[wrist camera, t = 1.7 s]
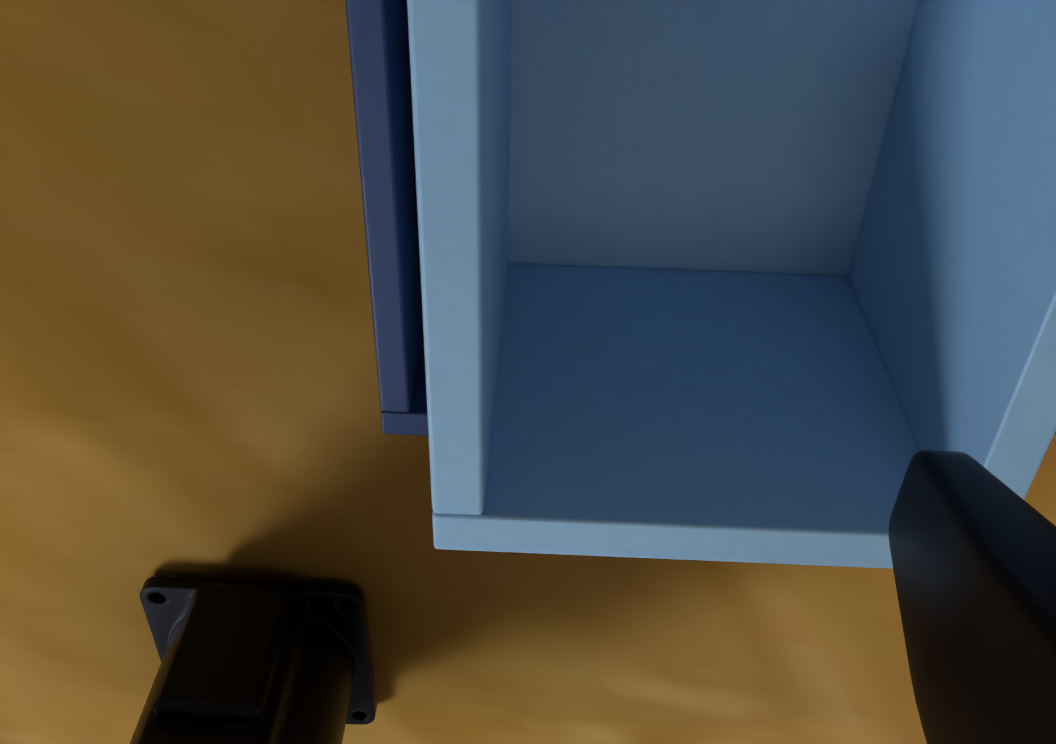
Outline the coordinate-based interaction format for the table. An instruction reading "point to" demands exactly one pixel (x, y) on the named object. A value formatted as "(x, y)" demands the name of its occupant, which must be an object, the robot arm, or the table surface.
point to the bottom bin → (390, 206)
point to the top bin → (728, 266)
